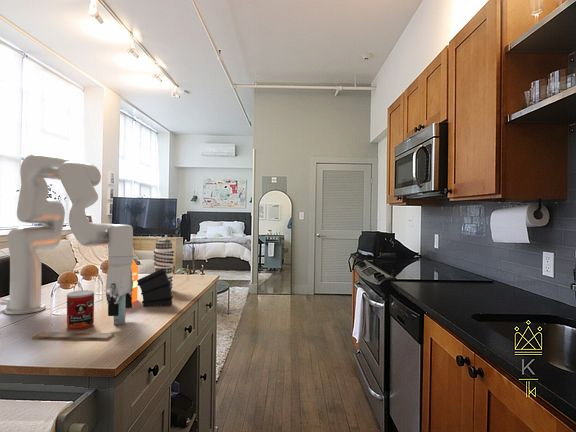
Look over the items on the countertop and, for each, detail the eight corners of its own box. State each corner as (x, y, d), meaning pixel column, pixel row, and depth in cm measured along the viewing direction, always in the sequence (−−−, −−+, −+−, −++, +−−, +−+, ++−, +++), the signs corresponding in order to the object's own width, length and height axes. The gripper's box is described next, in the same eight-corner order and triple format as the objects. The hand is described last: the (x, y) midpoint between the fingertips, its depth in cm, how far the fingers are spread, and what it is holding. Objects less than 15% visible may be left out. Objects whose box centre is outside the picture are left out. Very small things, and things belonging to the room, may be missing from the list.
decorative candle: (169, 293, 167) (170, 240, 167) (149, 293, 167) (150, 239, 167) (175, 289, 176) (176, 238, 176) (157, 289, 176) (158, 238, 176)
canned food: (66, 331, 112) (66, 296, 112) (67, 324, 119) (67, 291, 118) (94, 327, 116) (94, 294, 116) (93, 321, 123) (93, 289, 122)
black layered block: (179, 302, 145) (163, 268, 143) (148, 317, 143) (131, 283, 141) (180, 299, 148) (164, 267, 147) (149, 314, 146) (133, 281, 145)
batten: (32, 339, 105) (32, 336, 105) (41, 334, 109) (41, 331, 109) (107, 340, 105) (107, 337, 105) (114, 335, 109) (114, 333, 109)
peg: (111, 325, 119) (112, 295, 119) (116, 321, 123) (117, 292, 122) (122, 325, 119) (122, 295, 119) (126, 322, 123) (127, 292, 122)
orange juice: (137, 300, 154) (138, 253, 154) (126, 305, 145) (127, 255, 145) (120, 299, 155) (121, 253, 154) (108, 304, 146) (109, 255, 146)
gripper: (121, 258, 129) (121, 305, 129) (95, 264, 112) (95, 319, 112) (142, 258, 129) (142, 305, 129) (119, 264, 112) (119, 319, 112)
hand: (120, 311), depth 121 cm, fingers open, 9 cm apart
